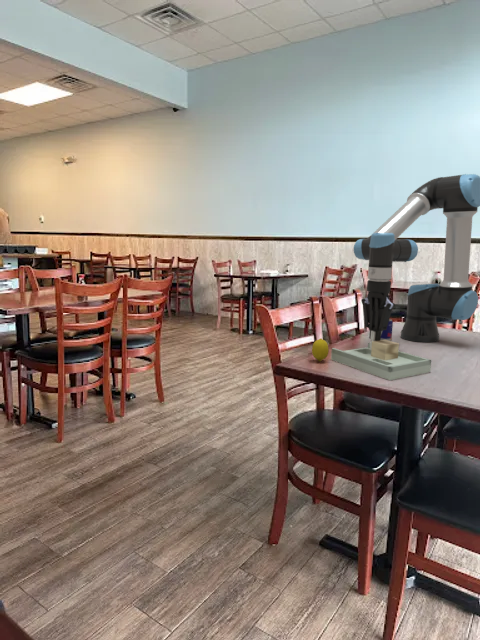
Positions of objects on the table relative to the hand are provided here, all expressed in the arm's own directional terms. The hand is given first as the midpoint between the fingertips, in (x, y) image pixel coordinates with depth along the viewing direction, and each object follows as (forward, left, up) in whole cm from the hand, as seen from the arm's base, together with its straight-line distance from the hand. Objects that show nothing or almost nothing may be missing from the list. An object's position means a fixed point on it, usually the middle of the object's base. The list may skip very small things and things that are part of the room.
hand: (374, 349), depth 152 cm
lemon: (+17, -8, -4) cm, 19 cm away
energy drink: (-13, -8, -4) cm, 16 cm away
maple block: (0, +5, -2) cm, 5 cm away
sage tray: (+3, +5, -4) cm, 7 cm away
